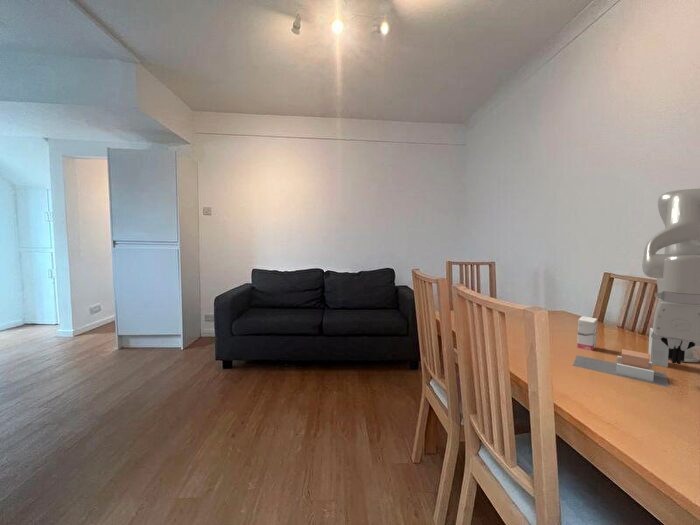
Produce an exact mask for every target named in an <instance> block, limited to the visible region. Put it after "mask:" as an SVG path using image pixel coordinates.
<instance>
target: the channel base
mask: <svg viewBox="0 0 700 525" xmlns="http://www.w3.org/2000/svg"><path fill="white" fill-rule="evenodd" d="M621 356H622V355H617V356H616V362H612V361H607V360H602V359H597V358H593V357H588V356H584V355H583V356H582V355H576V357H575V360H574V361H573V364H572V366H573V367H576V368H582V369H587V370H591V371H595V372H600V373H604V374H608V375H612V376H617V377H621V378H626V379H630V380H634V381H640V382H644V383H649V384H653V385H657V386H662V387H666V388H671V387H670V383H669V381H668V377H667V373H665V372H660V371H656V370H653V368H652V367H653V364H652V362H649V370H648V369H643V368H638V367H633V366H628V365H623V364H621Z"/></svg>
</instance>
